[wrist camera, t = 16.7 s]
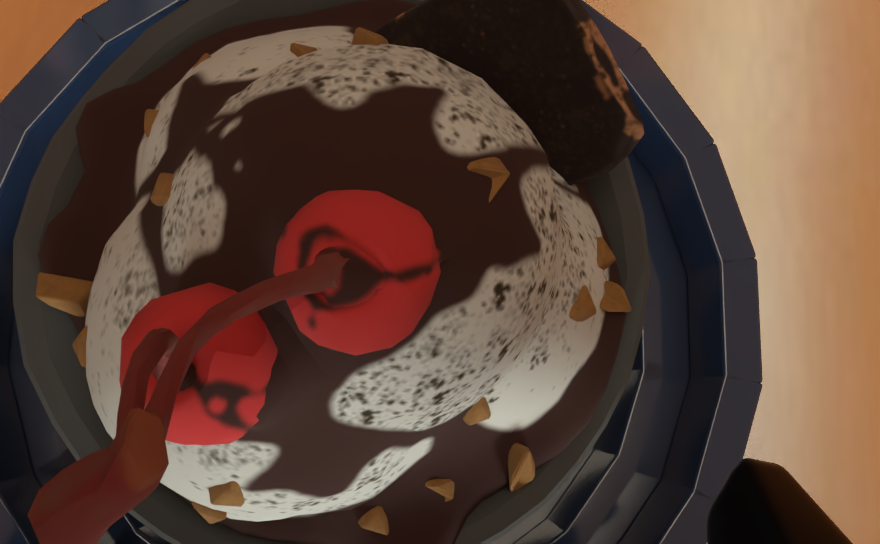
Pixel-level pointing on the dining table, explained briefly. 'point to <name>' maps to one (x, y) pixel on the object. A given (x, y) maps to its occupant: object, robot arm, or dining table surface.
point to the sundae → (334, 272)
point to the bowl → (655, 366)
